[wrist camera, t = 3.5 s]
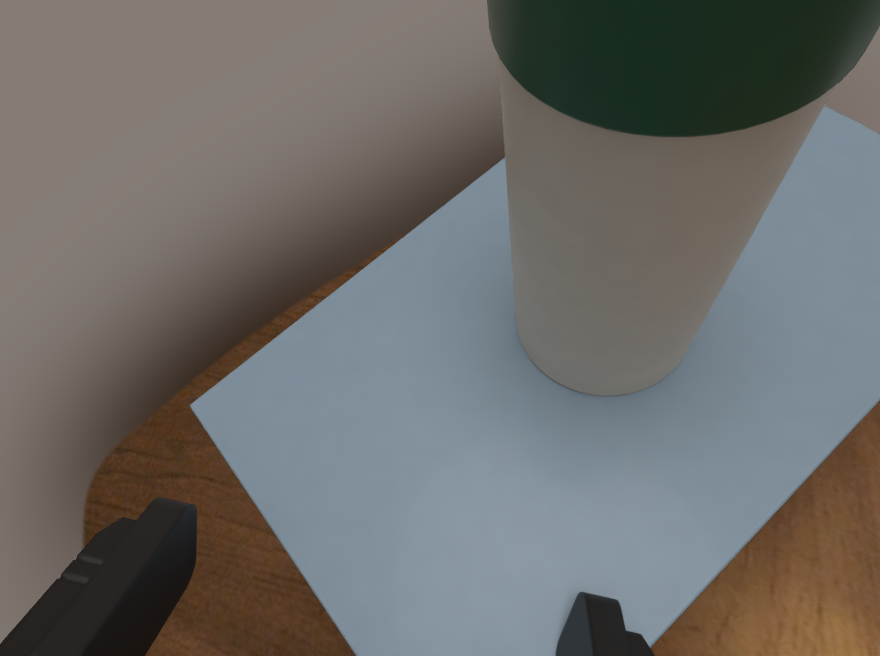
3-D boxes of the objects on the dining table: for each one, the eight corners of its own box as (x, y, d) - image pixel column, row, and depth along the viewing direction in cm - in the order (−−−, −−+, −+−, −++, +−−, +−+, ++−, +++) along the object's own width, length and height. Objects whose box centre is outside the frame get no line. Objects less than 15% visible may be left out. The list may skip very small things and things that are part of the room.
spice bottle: (475, 315, 16) (388, -136, 7) (596, 213, 17) (675, -314, 8) (607, 439, 14) (761, 49, 5) (736, 316, 15) (1093, -226, 6)
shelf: (337, 498, 29) (188, 404, 16) (619, 251, 33) (671, 25, 20) (506, 724, 24) (475, 837, 11) (817, 400, 28) (1048, 219, 15)
